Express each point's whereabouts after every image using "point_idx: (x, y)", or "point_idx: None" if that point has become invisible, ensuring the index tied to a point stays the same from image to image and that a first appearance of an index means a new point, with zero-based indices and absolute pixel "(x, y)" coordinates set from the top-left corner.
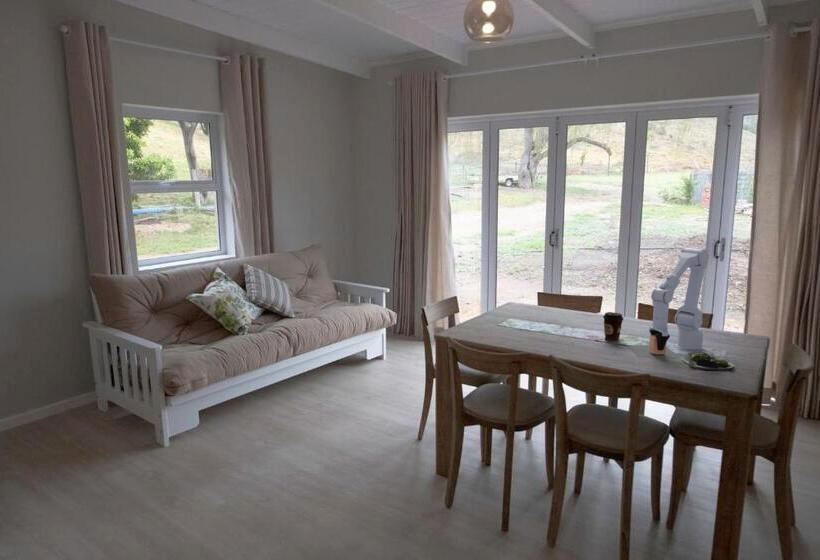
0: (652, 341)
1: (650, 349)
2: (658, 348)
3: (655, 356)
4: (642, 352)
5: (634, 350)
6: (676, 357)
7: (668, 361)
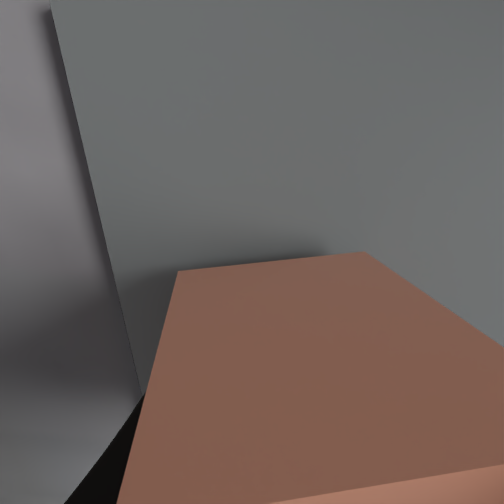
0: (236, 387)
1: (304, 268)
2: (141, 401)
3: (152, 292)
4: (319, 146)
5: (414, 33)
6: None
7: (24, 404)
